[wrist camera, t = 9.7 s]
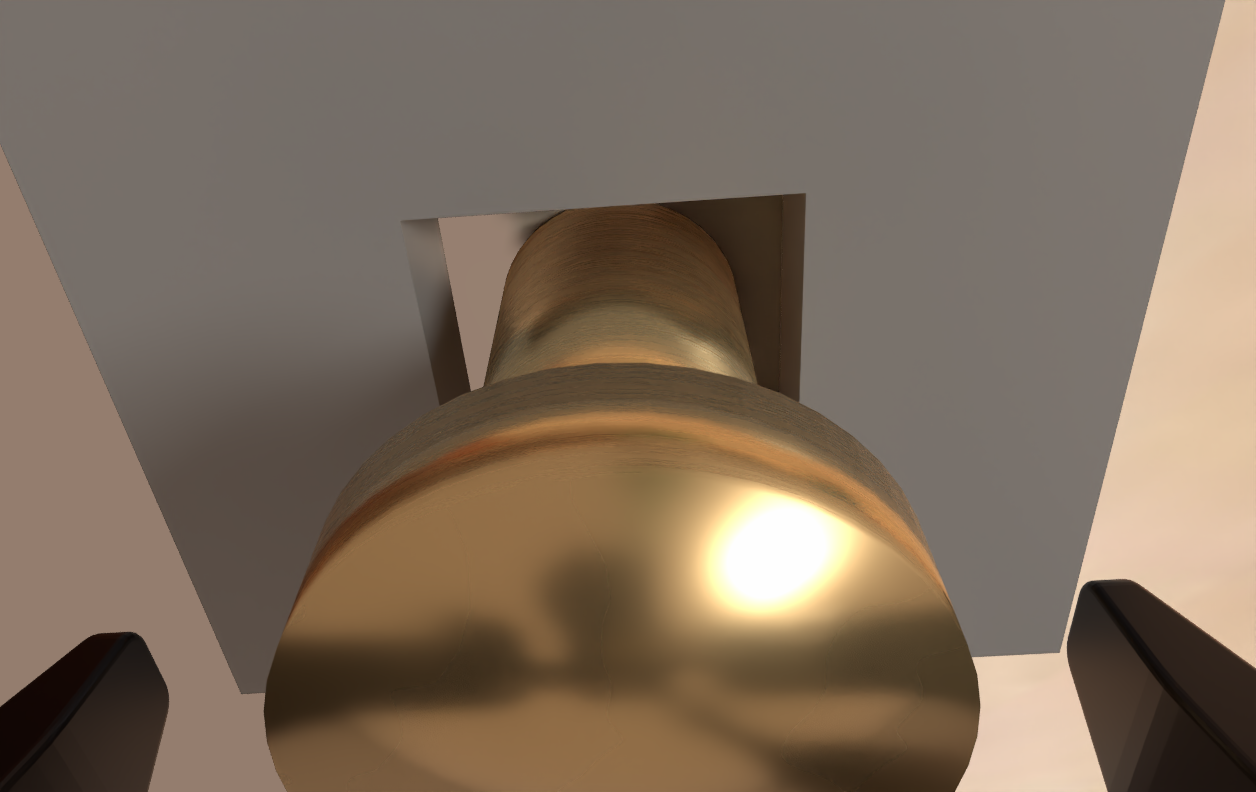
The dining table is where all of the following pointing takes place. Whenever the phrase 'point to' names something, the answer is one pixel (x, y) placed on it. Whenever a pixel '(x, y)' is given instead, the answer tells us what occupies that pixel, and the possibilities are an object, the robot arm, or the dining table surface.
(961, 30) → the housing plate
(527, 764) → the door knob
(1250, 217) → the dining table surface
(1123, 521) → the dining table surface
